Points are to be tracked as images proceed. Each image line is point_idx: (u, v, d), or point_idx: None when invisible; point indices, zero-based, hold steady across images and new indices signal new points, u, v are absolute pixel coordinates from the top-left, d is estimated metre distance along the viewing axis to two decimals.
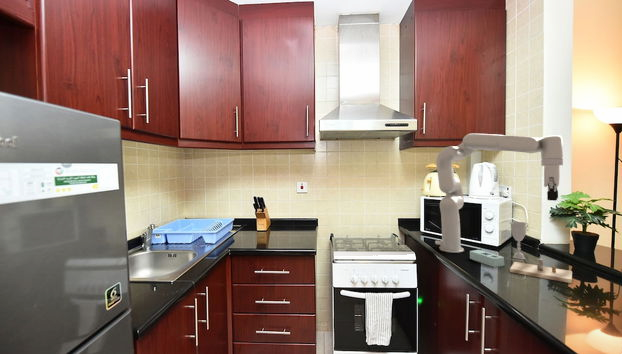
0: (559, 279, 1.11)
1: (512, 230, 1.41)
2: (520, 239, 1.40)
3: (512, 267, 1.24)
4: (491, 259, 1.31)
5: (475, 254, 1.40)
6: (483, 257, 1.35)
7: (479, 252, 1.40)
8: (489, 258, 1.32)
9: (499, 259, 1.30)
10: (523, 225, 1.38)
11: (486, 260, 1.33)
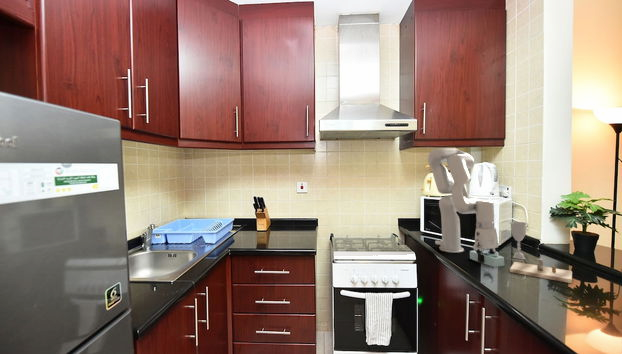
0: (559, 279, 1.11)
1: (512, 230, 1.41)
2: (520, 239, 1.40)
3: (512, 267, 1.24)
4: (491, 259, 1.31)
5: (475, 254, 1.40)
6: None
7: None
8: (489, 258, 1.32)
9: (499, 259, 1.30)
10: (523, 225, 1.38)
11: (486, 260, 1.33)
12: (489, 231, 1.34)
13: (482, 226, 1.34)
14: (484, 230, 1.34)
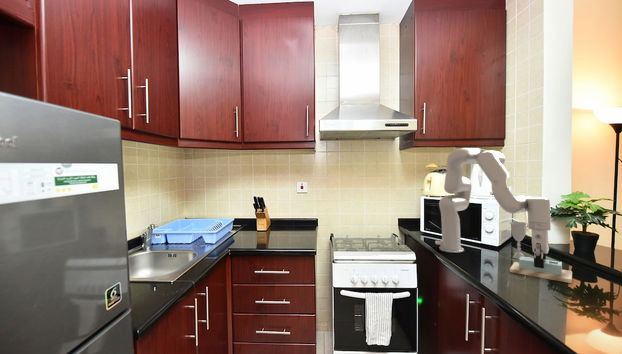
0: (559, 279, 1.11)
1: (512, 230, 1.41)
2: (520, 239, 1.40)
3: (512, 267, 1.24)
4: (556, 266, 1.14)
5: (528, 262, 1.20)
6: None
7: (530, 259, 1.22)
8: (553, 266, 1.15)
9: (561, 265, 1.15)
10: (523, 225, 1.38)
11: (547, 268, 1.16)
12: (547, 232, 1.18)
13: (542, 227, 1.16)
14: (545, 231, 1.16)
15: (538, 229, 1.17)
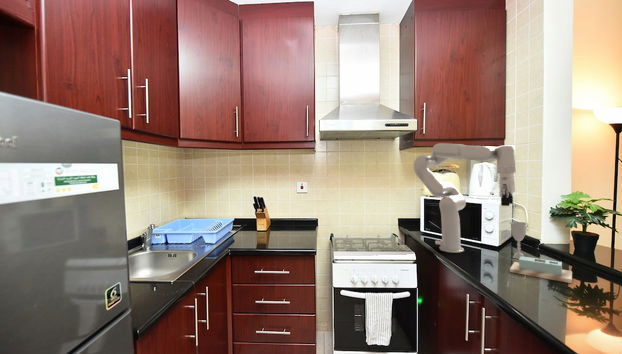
0: (559, 279, 1.11)
1: (512, 230, 1.41)
2: (520, 239, 1.40)
3: (512, 267, 1.24)
4: (556, 266, 1.14)
5: (528, 262, 1.20)
6: (543, 265, 1.17)
7: (530, 259, 1.22)
8: (553, 266, 1.15)
9: (561, 265, 1.15)
10: (523, 225, 1.38)
11: (547, 268, 1.16)
12: (512, 175, 1.34)
13: (508, 170, 1.33)
14: (511, 174, 1.33)
15: (504, 172, 1.34)
